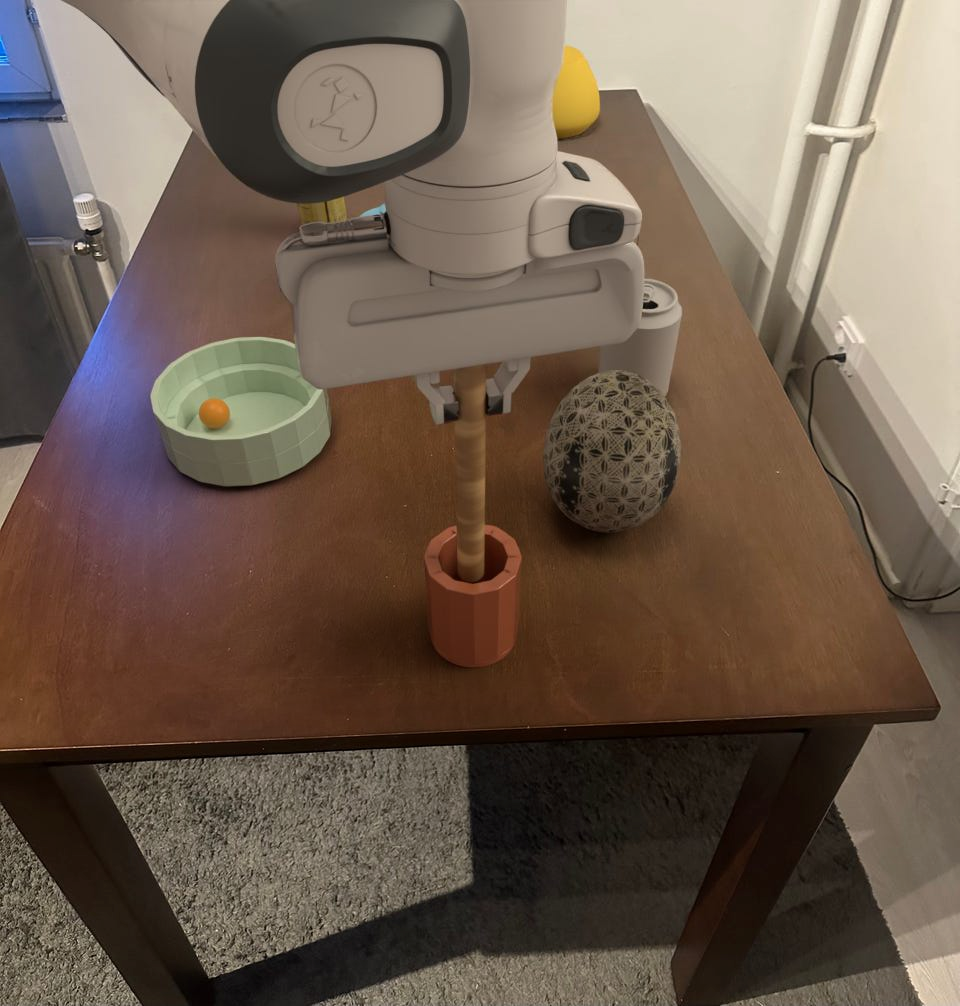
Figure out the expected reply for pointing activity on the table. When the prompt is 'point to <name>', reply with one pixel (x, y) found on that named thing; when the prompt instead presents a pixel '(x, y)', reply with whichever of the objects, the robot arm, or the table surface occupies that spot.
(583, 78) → the teapot
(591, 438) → the decorative egg
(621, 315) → the robot arm
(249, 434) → the bowl
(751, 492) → the table surface
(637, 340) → the can
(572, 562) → the table surface
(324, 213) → the sauce bottle
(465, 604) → the utensil pot
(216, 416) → the bead
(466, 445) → the stirring stick
